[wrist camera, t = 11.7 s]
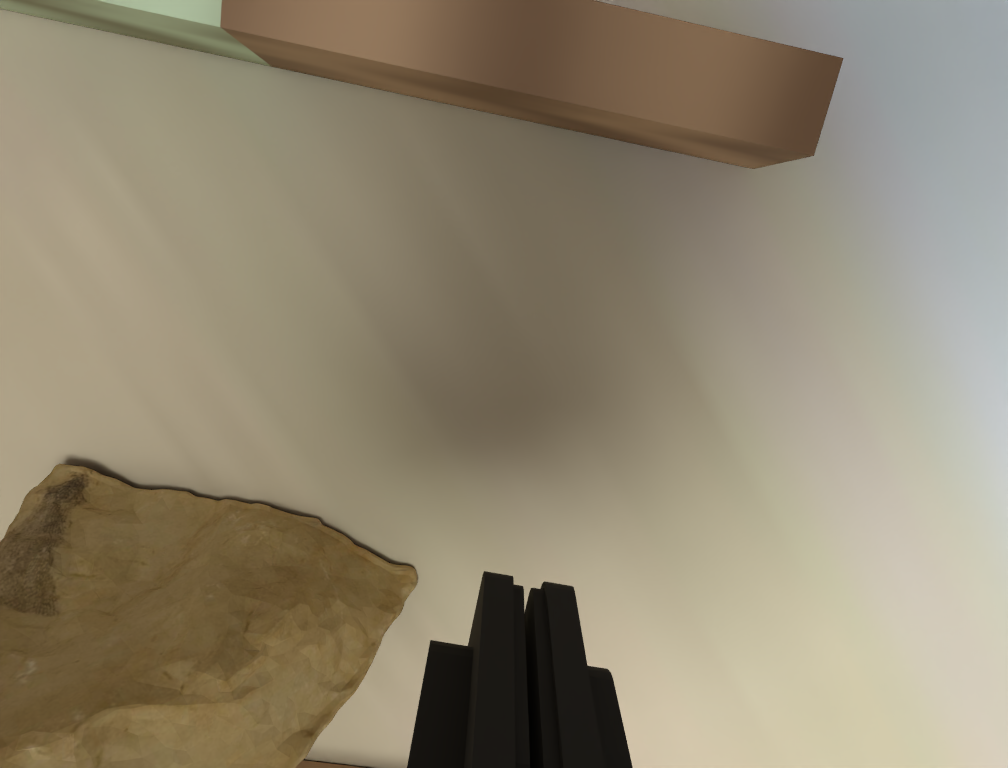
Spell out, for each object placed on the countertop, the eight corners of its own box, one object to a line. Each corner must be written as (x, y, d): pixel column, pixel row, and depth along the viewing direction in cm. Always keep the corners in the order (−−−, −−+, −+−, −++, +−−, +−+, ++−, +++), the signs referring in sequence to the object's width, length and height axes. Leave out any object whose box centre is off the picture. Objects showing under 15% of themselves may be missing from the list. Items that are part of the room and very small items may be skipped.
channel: (775, 89, 15) (843, 58, 13) (566, 834, 22) (578, 926, 19) (-394, -174, 13) (-641, -286, 10) (-242, 743, 20) (-368, 832, 17)
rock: (-128, 580, 16) (106, 853, 17) (-411, 623, 8) (38, 1107, 9) (236, 371, 21) (398, 585, 22) (260, 284, 14) (500, 612, 15)
